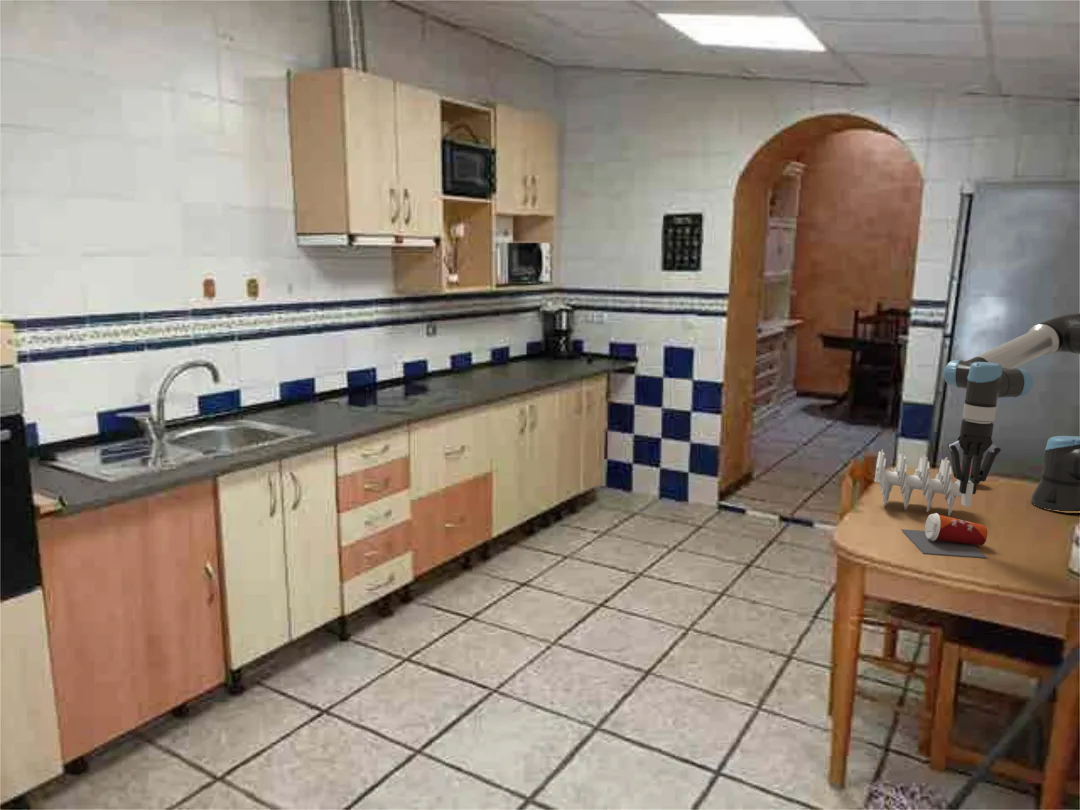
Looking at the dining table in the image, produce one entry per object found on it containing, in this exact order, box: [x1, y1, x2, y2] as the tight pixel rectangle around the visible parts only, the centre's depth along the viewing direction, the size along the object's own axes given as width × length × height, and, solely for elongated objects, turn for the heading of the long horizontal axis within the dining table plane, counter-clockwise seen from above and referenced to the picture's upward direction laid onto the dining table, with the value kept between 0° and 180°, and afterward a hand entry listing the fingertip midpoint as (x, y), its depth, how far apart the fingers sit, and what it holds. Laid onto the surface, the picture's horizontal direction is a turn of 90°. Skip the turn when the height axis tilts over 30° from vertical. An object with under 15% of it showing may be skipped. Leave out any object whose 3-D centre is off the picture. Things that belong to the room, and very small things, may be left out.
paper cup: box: [924, 512, 988, 546], centre depth 220 cm, size 8×8×14 cm
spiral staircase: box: [874, 448, 962, 517], centre depth 247 cm, size 18×18×25 cm
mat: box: [900, 528, 987, 559], centre depth 220 cm, size 16×18×1 cm
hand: (965, 504), depth 217 cm, fingers closed
